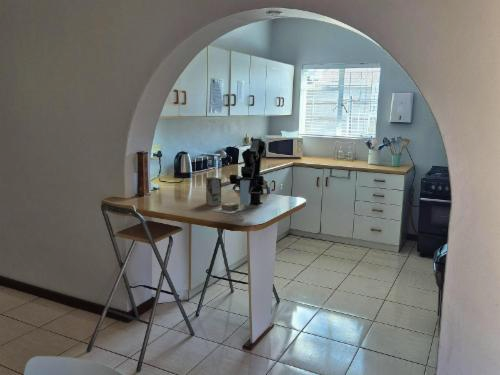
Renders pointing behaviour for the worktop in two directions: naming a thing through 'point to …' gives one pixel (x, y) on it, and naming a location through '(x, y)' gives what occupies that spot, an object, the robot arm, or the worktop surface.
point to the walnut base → (229, 208)
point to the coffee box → (213, 191)
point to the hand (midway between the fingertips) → (244, 192)
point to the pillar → (244, 192)
